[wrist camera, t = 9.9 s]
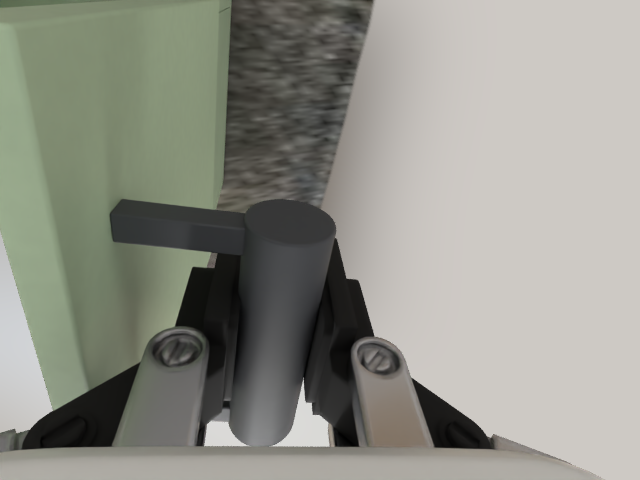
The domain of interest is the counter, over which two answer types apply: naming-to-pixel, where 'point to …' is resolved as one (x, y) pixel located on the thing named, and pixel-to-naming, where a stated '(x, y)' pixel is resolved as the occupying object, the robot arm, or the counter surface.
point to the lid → (141, 204)
